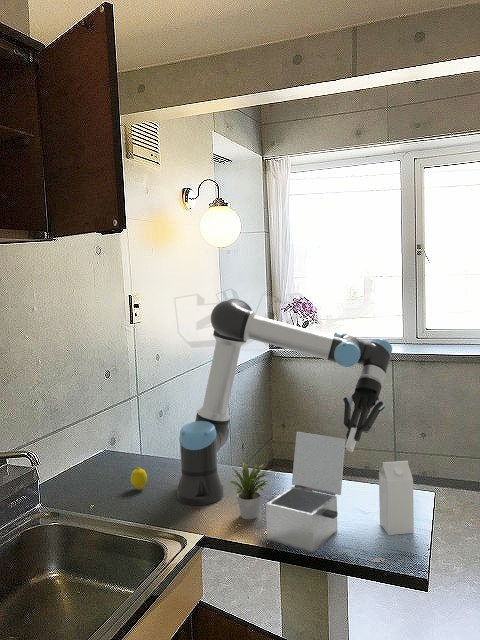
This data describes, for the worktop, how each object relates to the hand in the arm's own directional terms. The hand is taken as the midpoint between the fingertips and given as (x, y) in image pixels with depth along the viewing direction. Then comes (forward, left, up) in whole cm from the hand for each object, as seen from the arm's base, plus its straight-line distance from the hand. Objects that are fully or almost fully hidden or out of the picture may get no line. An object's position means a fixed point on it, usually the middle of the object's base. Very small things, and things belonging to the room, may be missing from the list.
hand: (349, 449), depth 163 cm
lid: (-5, -10, -2) cm, 11 cm away
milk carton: (+15, -2, -20) cm, 25 cm away
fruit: (-69, -18, -20) cm, 74 cm away
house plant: (-24, -17, -20) cm, 36 cm away
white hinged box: (-5, -19, -20) cm, 28 cm away
